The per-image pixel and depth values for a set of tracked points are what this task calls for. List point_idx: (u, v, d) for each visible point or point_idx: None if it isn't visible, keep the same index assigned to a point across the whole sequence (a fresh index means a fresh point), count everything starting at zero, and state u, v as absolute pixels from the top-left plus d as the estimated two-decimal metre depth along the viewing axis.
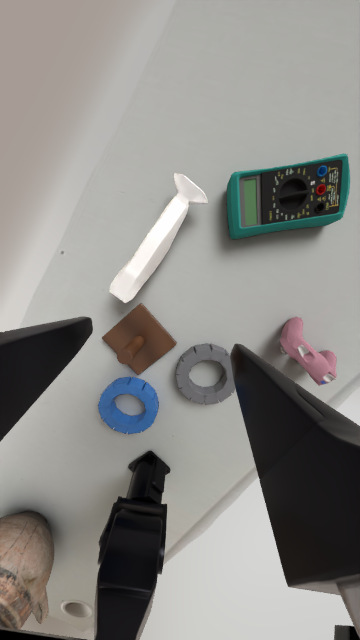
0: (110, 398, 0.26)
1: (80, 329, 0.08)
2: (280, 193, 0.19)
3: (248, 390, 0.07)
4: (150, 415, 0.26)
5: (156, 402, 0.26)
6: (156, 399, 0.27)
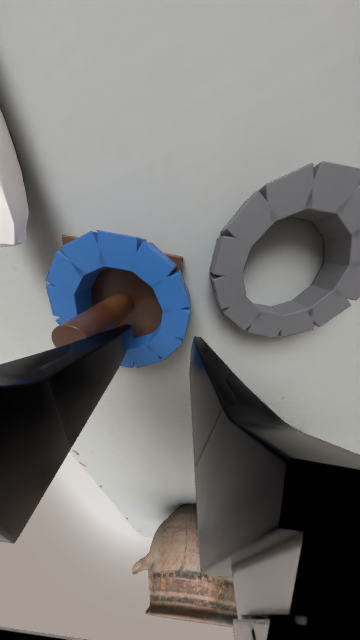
0: (72, 314, 0.11)
1: (126, 337, 0.08)
2: None
3: (195, 381, 0.07)
4: (169, 290, 0.10)
5: (161, 254, 0.10)
6: (158, 250, 0.10)
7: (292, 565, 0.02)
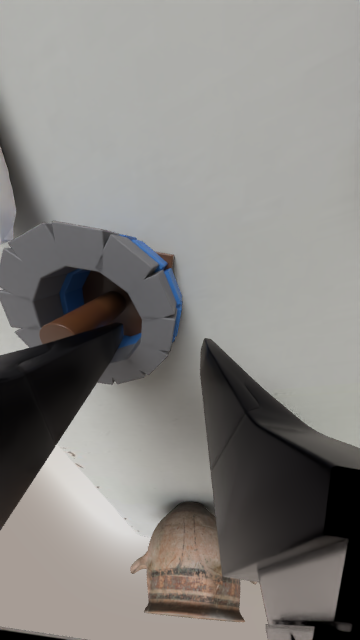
0: (63, 313, 0.11)
1: (115, 335, 0.08)
2: None
3: (208, 383, 0.07)
4: None
5: (151, 252, 0.10)
6: (148, 248, 0.10)
7: (334, 572, 0.02)
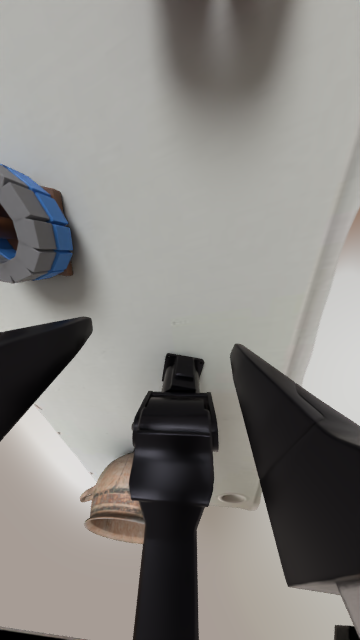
0: None
1: (80, 329, 0.08)
2: None
3: (248, 390, 0.07)
4: None
5: (28, 180, 0.14)
6: (28, 179, 0.14)
7: None
